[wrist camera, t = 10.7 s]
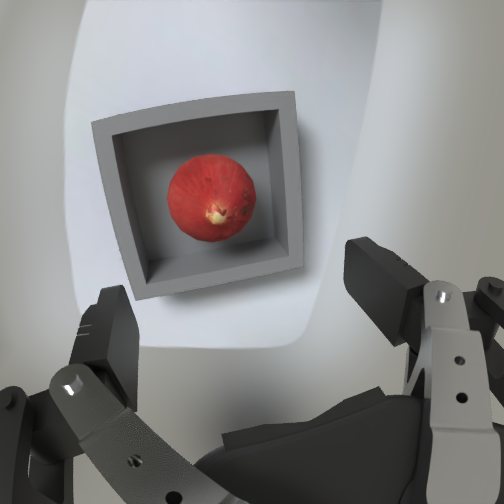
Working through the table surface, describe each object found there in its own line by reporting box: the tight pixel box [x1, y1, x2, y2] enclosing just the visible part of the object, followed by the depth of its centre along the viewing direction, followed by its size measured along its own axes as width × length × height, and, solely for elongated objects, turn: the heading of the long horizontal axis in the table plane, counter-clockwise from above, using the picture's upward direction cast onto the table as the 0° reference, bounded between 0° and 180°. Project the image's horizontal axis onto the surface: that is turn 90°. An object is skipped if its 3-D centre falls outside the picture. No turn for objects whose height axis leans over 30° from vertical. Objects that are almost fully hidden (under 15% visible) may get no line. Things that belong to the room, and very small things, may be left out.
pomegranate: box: [167, 154, 257, 242], centre depth 20 cm, size 6×6×8 cm
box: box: [91, 91, 304, 301], centre depth 23 cm, size 13×13×4 cm
